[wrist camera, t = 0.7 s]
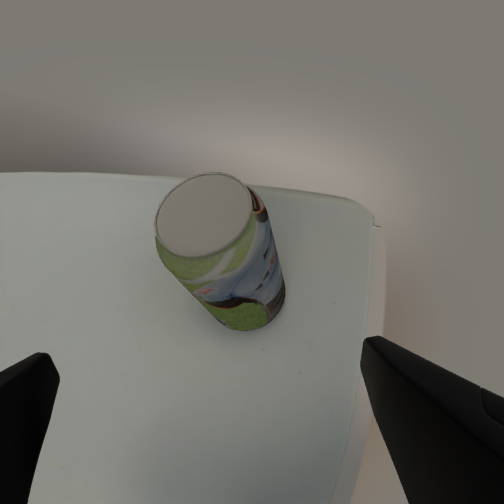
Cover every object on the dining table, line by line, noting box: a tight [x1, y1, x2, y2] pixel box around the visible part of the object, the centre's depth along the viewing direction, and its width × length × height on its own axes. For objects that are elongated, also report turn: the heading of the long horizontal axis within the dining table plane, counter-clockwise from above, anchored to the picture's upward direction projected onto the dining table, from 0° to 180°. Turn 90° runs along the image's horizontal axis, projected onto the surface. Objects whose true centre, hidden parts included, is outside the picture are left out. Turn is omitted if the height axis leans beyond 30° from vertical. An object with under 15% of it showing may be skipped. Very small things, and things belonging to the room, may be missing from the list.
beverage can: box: [154, 172, 285, 331], centre depth 19 cm, size 6×7×12 cm
